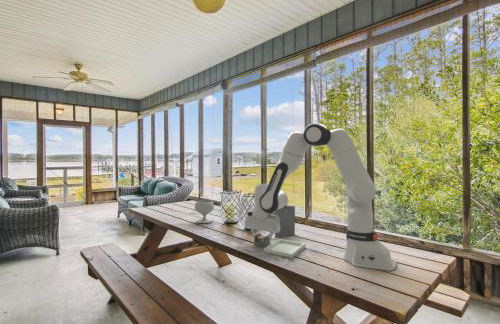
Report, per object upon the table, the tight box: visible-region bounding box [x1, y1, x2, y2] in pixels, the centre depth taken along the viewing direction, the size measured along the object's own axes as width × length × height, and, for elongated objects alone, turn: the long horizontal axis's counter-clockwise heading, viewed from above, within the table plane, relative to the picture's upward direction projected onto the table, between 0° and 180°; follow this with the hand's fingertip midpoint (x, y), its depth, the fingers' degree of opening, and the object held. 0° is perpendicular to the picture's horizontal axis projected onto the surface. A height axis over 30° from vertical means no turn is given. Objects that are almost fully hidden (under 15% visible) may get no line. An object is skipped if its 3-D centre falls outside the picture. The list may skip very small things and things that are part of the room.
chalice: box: [194, 199, 215, 224], centre depth 202 cm, size 14×14×15 cm
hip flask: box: [274, 203, 296, 239], centre depth 169 cm, size 16×4×20 cm, turn 128°
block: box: [257, 235, 266, 243], centre depth 151 cm, size 4×4×4 cm
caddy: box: [253, 232, 271, 248], centre depth 151 cm, size 6×6×6 cm
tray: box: [263, 238, 306, 260], centre depth 143 cm, size 15×19×2 cm
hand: (262, 238), depth 151 cm, fingers open, 8 cm apart
